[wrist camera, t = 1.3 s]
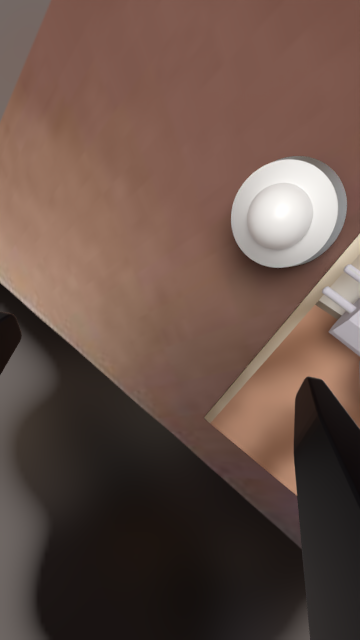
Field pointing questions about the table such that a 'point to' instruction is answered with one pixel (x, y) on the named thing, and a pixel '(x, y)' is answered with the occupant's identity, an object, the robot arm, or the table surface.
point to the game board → (295, 364)
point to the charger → (347, 316)
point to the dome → (284, 213)
